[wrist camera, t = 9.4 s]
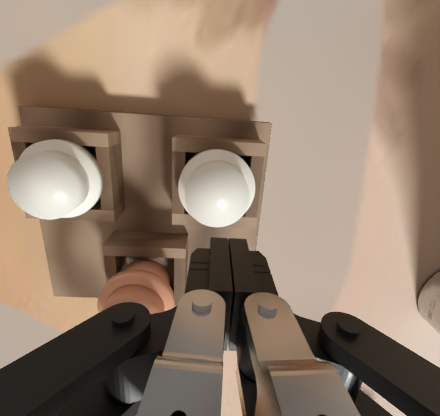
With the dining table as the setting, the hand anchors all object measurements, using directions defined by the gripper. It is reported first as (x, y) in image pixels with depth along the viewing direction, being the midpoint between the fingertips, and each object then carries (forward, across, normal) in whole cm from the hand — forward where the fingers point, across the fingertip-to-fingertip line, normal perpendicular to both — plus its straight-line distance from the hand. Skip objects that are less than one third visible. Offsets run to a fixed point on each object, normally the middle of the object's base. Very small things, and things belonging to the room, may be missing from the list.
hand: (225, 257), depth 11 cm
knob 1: (+14, +12, 0) cm, 19 cm away
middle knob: (+11, +6, +10) cm, 16 cm away
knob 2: (+14, 0, 0) cm, 14 cm away
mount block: (+16, +6, +5) cm, 17 cm away
